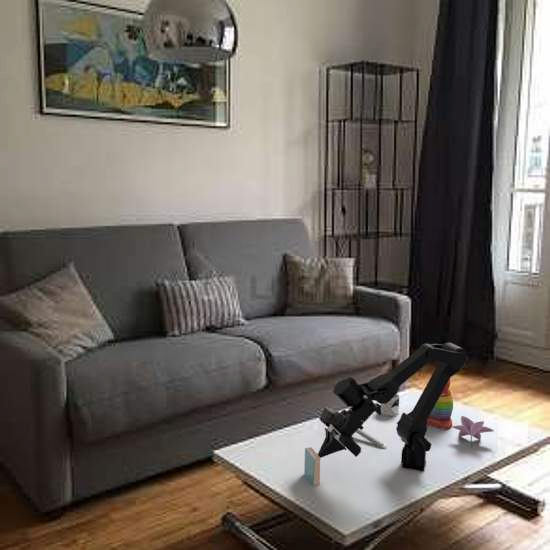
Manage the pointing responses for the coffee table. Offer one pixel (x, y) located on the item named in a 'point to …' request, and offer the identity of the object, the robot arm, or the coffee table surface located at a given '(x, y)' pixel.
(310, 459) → the tile
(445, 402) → the stacking bear
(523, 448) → the coffee table surface
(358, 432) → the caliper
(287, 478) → the coffee table surface
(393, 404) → the mug
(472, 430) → the lily
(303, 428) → the coffee table surface
